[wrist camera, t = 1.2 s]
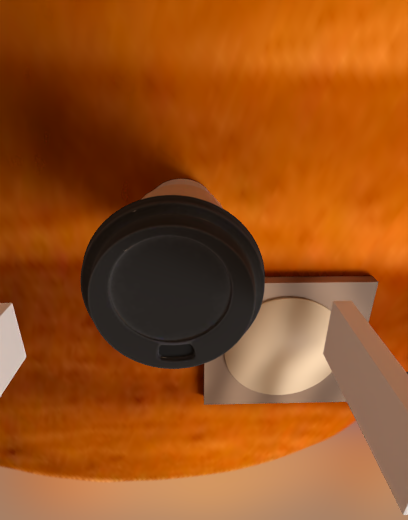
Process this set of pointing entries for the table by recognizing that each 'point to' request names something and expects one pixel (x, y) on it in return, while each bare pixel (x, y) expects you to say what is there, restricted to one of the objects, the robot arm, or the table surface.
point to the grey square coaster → (287, 344)
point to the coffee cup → (173, 278)
